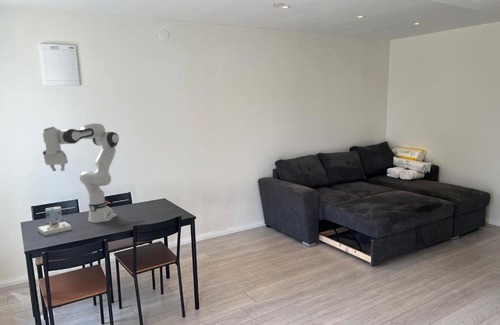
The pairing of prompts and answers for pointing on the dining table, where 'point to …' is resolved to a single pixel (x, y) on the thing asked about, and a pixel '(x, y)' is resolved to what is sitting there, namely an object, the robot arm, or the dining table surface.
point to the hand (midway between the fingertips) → (58, 170)
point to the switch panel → (54, 228)
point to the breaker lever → (53, 218)
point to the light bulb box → (57, 214)
